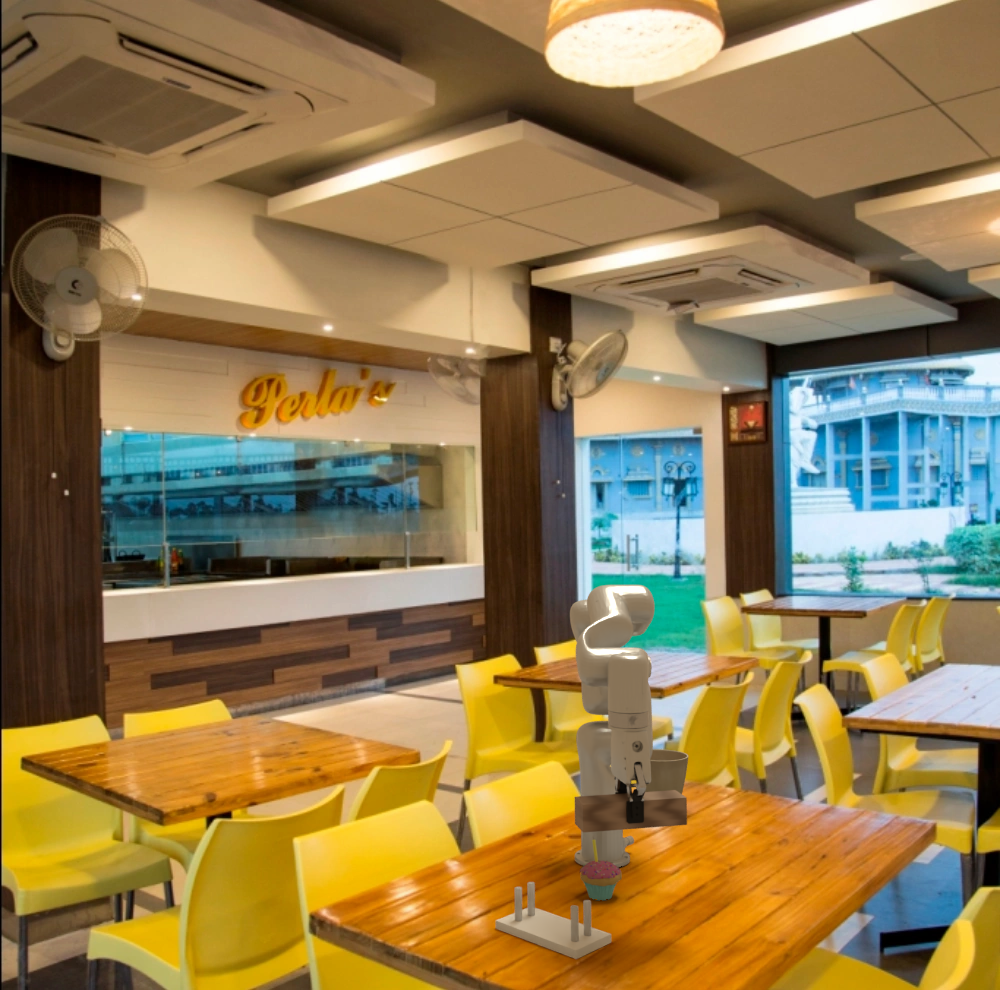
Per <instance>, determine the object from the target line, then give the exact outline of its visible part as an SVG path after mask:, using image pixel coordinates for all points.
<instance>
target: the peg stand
mask: <svg viewBox="0 0 1000 990" xmlns="http://www.w3.org/2000/svg"><path fill="white" fill-rule="evenodd" d="M526 884H527V888H526V889H527V890H526V891H527V907H526V908H524V909H523V887H522V886H516V887H515V886H514V912H513V913H511V914H508V915H505V916H504V917H501V918H498V919H495V929H496V930H499V931H501V932H504V933H506V934H510V935H512V936H514V937H517V938H520V939H522V940H525V941H527V942H530V943H533V944H535V945H538V946H541V947H543V948H546V949H548V950H551V951H554V952H556V953H560V955H561V954H562V955H564V956H566V957H569V958H572V959H575V960H578V959H580V958H582V957H584V956H586V955H588V954H591V953H592V952H595V951H596V950H599V949H600V948H603V947H604V946H607V945H609V944H611V943H612V933H610V932H606V931H604V930H600V929H598V928H595V927H592V900H589V899H584V900H583V901H582V902H583V903H582V904H583V907H582V909H583V912H582V913H583V923H580V922H579V921H580V919H579V905H574V904H572V905H571V906H570V919H569V918H566V917H564V916H563V917H562V916H560V915H557V914H554V913H552V912H549V911H546V910H544V909H540V908H537V907H536V903H535V901H536V894H535V893H536V891H535V890H536V885H535V884H536V882H534V881H528V882H527V883H526Z"/></svg>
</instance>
